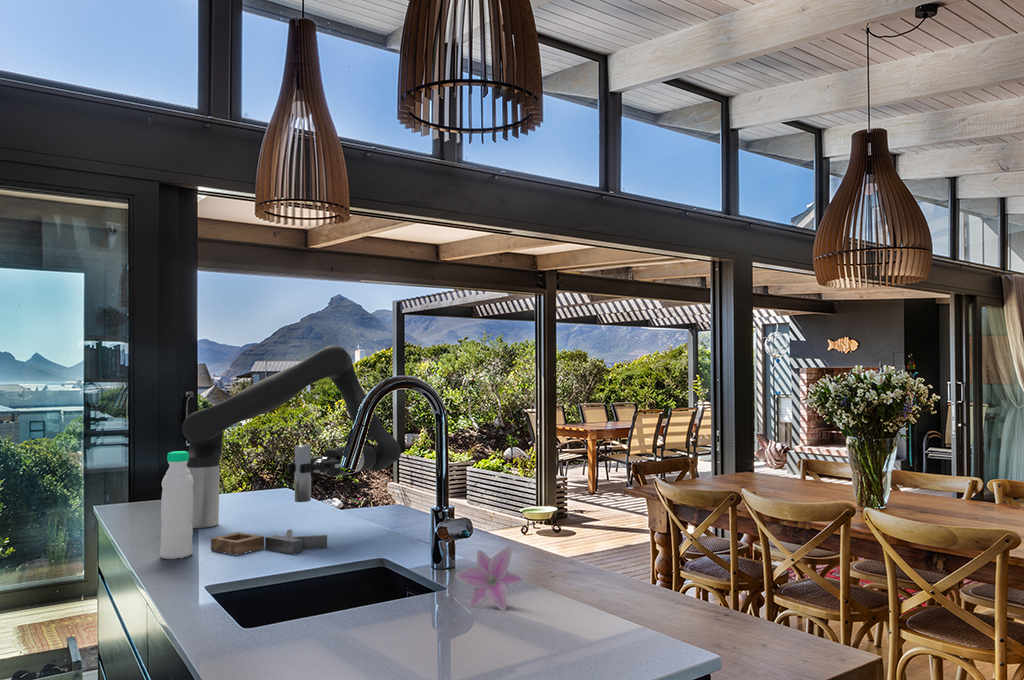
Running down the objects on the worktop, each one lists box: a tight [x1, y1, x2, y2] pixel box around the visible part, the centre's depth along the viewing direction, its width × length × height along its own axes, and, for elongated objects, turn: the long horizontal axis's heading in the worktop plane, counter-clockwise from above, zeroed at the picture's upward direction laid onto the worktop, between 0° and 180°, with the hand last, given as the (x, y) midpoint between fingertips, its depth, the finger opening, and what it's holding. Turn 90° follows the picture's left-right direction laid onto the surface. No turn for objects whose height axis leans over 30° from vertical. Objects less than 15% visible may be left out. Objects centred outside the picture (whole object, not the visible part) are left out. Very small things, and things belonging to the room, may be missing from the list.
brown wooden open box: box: [210, 531, 265, 555], centre depth 181 cm, size 10×8×3 cm
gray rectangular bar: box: [294, 444, 312, 503], centre depth 185 cm, size 4×4×14 cm
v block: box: [264, 529, 328, 555], centre depth 182 cm, size 14×10×3 cm
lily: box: [454, 546, 524, 611], centre depth 138 cm, size 12×12×10 cm
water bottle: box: [159, 450, 194, 560], centre depth 175 cm, size 7×7×25 cm
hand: (294, 468), depth 183 cm, fingers closed on gray rectangular bar, 4 cm apart
